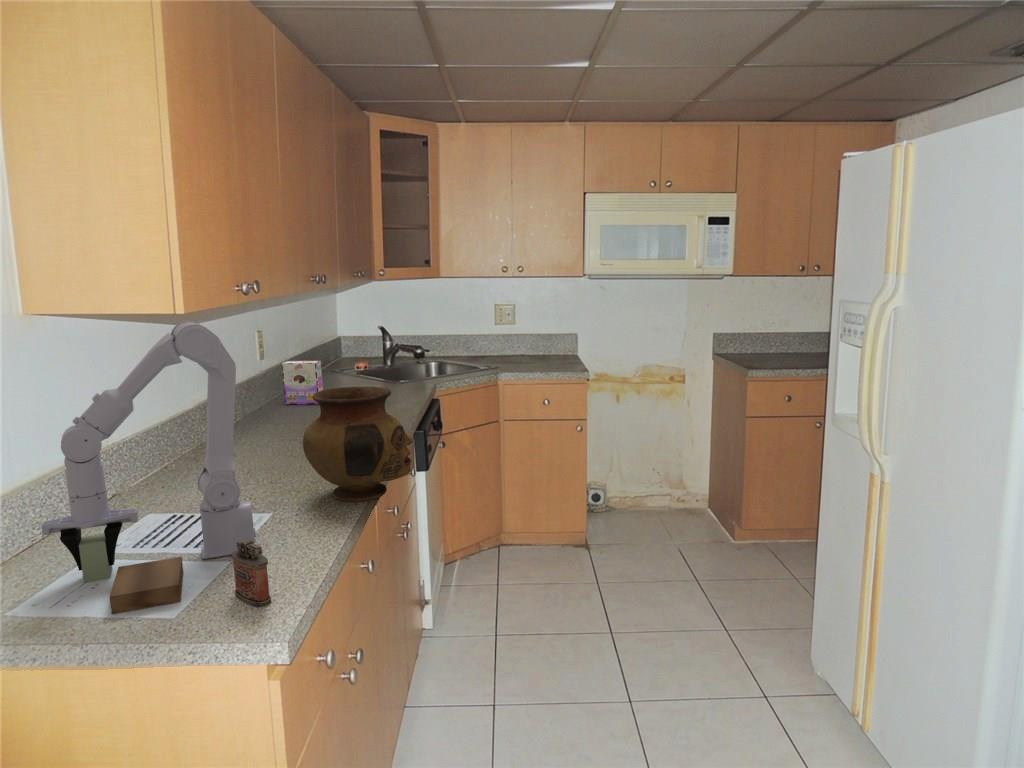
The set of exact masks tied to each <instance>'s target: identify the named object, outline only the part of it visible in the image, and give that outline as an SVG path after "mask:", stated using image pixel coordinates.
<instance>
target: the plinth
mask: <svg viewBox="0 0 1024 768" xmlns="http://www.w3.org/2000/svg"><path fill="white" fill-rule="evenodd" d="M183 580H184V565H183V556H177V557H170V558H164V559H159V560H153V561H146V562H140V563H134V564H127V565H123V566H118V568H117V570H116V573H115V577H114V581H113V583H112V587H111V589H110V590H111V591H110V593H109V596H108V597H109V602H110V603H109V606H110V610H111V612H110V613H111V615H114V614H115V615H116V614H120V613H126V612H130V611H137V610H142V609H148V608H153V607H158V606H164V605H169V604H174V603H180V602H182V592H183V582H184V581H183Z"/></svg>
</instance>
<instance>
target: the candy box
mask: <svg viewBox="0 0 1024 768" xmlns="http://www.w3.org/2000/svg"><path fill="white" fill-rule="evenodd" d="M281 373H282V384H283V393H284V405H285V404H297V405H301V404H302V405H319V403H318V402H316V401H315V400H314V399H313V395H314V394H315V393H316V392H319V391H321V390H324V386H323V372H322V360H288V361H284V362H282V363H281Z"/></svg>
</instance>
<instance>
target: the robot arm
mask: <svg viewBox="0 0 1024 768" xmlns="http://www.w3.org/2000/svg"><path fill="white" fill-rule="evenodd" d="M150 348H151V349H149V350H148V352H147V353H146V354H145V355H144V356H143V358H142V359H141V360H140V361H139V362H138V363H137V365H136V366H135V367H134V368H133V369H132V370H131V371H130V372H129V374H128V375H127V376H126V377H125V379H124V380H123V381H122V382H121V383H120V384H119V386H118V387H117V388H113V389H112V388H111V389H105V390H103V391H102V392H101V394H100V393H99V392H97V393H95V394H94V395H93V397H92V398H91V399H92V402H91V405H90V406H88V407H87V409H86V410H85V411H84V412H83V413H82V414H81V415H80V416H79V417H78V416H76V417H74V418H73V419H72V423H73V424H74V425H71V426H69V427H68V428H66V429H65V430H64V432H63V434H61V435H62V436H61V441H60V450H61V452H62V454H63V456H64V460H63V461H64V466H65V470H64V474H65V481H66V488H67V496H68V503H69V511H70V515H69V516H65V517H64V516H63V517H60V518H55V519H51V520H44V521H43V522H42V523H41V533H42V536H43V537H44V536H49V535H51V534H54V533H56V534H57V533H60V536H59V539H60V541H61V543H62V544H63V545H64V547H66V549H67V550H68V551H69V552H70V554H71V556H72V557H73V558H74V561H75V563H76V566H77V568H78V571H82V566H81V558H80V551H79V543H80V541H81V539H82V537H83V536H82V530H83V529H88V528H89V529H90V528H97V527H105V528H104V531H103V534H105V538H106V543H107V549H108V562H109V566H110V565H112V566H113V565H114V564H115V561H116V559H115V558H116V557H115V556H116V547H117V543H118V539H119V536H120V532H121V530H122V527H123V524H125V523H131V524H135V523H138V522H139V511H138V510H139V509H138V508H132V509H112V510H111V509H109V508H110V507H109V501H108V493H107V485H106V479H105V471H104V465H103V463H102V462H101V455H100V452H101V451H102V447H103V446H102V442H103V441H105V440H107V439H109V438H110V437H111V436H112V435H113V434H114V433H115V432H116V430H117V429H118V428H119V427H120V426H121V425H122V424H123V423H124V421H126V419H128V417H129V416H130V415H131V414H132V413H133V412H134V410H135V408H134V401H133V400H134V399H135V398H136V397H137V396H138V395H139V394H140V393H141V392H142V391H143V390H144V389H145V388H146V387H147V386H148V385H149V384H150V383H151V382H152V381H153V379H155V378H156V377H157V376H158V374H160V373H161V372H162V371H163V370H164V369H165V368H166V367H169V366H174V365H177V364H181V363H183V360H182V359H181V356H182V357H183V358H186V359H188V360H189V361H192V362H194V363H197V365H199V366H200V367H201V368H202V369H203V370H204V371H205V372H206V373H207V397H206V398H207V401H206V426H205V427H206V432H205V434H206V436H205V438H206V439H205V455H204V459H203V466H202V471H201V473H200V474H199V476H198V479H197V487H198V488H197V489H199V491H200V492H201V494H202V496H203V498H202V500H201V502H200V504H199V512H200V513H199V515H200V523H201V531H202V540H203V541H202V543H201V559H202V560H206V559H207V560H208V559H212V558H221V557H225V556H231V553H232V552H233V551H236V550H238V547H237V542H236V541H238V540H240V539H243V540H246V541H247V540H250V539H251V540H252V541H253V543H254V544H256V539H255V538H256V537H257V531H256V527H255V528H254V519H253V509H252V501H251V500H245V501H242V500H241V498H240V494H241V489H240V485H239V483H238V482H237V479H236V466H235V462H234V435H235V413H236V411H235V406H236V382H237V381H236V379H237V378H236V377H237V375H236V374H237V366H236V365H237V364H236V363H235V361H234V359H233V357H232V356H231V355H230V353H229V352H228V350H227V349H226V347H225V346H224V344H223V342H222V340H221V339H220V337H219V336H218V335H216V334H215V333H214V332H212V331H211V330H210V329H208V328H207V327H206V326H204V325H201V324H200V323H198V322H196V321H192V320H183V321H181V322H178V323H177V324H176V325H175V326H173V328H172V330H171V332H168V333H166V334H165V335H164V336H162V337H161V338H160V339H159V340H158V341H157V342H156V343H155V344H154V345H153V346H152V347H150Z"/></svg>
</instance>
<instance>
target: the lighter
mask: <svg viewBox="0 0 1024 768" xmlns="http://www.w3.org/2000/svg"><path fill="white" fill-rule="evenodd" d="M236 542H237V547H238V550H236V551H233V552H232V553H231V555H230V556H231V559H232V563H233V565H232V566H233V572H234V573H233V576H234V585H235V589H234V596H235V598H236V599H237V600H239V601H241V602H242V603H243V604H246V605H248V606H251V607H254V608H258V609H259V608H266V607H268V606H270V605H271V604H272V596H271V595H270V588H269V577H268V575H269V574H268V564H269V559H268V558H267V557H266V556H265V555H263V547H262V546H261V545H259V544H257V543H255V544H254V543H253V541H252V540H251V539H250V540H247V541H246V540H243V539H240V540H238V541H236Z"/></svg>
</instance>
